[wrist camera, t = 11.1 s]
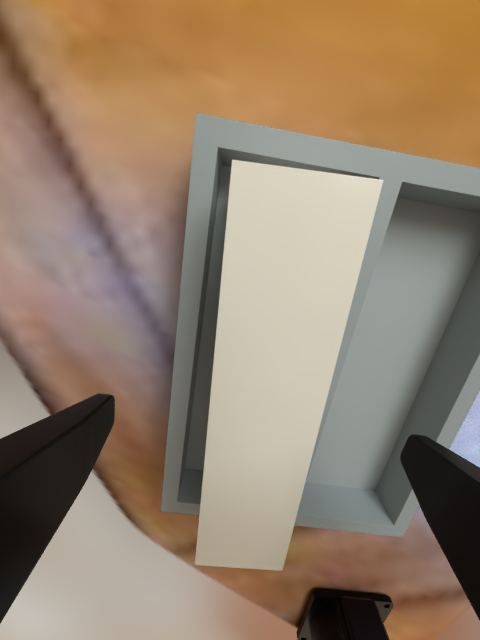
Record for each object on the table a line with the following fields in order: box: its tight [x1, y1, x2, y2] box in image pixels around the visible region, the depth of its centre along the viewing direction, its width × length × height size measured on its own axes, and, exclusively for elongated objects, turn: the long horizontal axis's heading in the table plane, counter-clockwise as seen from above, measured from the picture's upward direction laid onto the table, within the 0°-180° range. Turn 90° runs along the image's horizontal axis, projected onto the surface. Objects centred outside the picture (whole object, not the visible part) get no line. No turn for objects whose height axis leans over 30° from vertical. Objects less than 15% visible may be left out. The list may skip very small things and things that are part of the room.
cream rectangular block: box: [195, 160, 383, 571], centre depth 10 cm, size 14×4×5 cm, turn 173°
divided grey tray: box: [161, 113, 480, 537], centre depth 12 cm, size 18×13×3 cm
